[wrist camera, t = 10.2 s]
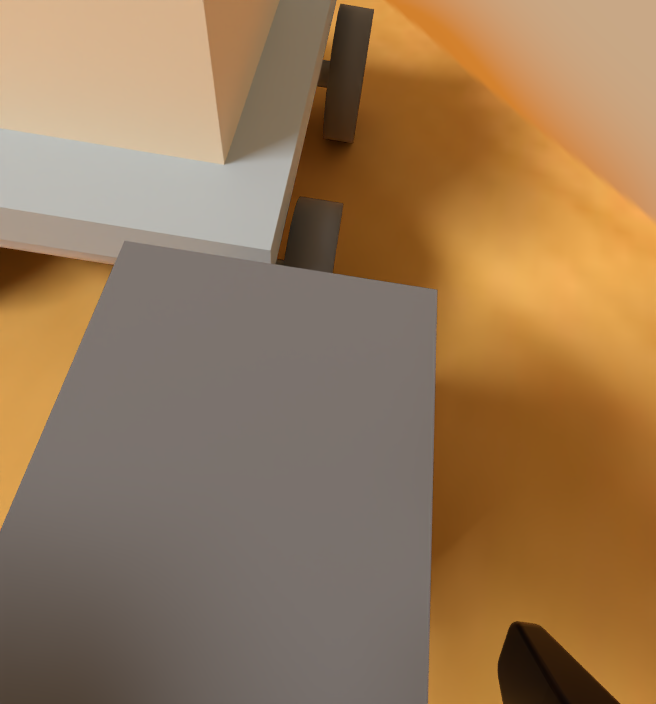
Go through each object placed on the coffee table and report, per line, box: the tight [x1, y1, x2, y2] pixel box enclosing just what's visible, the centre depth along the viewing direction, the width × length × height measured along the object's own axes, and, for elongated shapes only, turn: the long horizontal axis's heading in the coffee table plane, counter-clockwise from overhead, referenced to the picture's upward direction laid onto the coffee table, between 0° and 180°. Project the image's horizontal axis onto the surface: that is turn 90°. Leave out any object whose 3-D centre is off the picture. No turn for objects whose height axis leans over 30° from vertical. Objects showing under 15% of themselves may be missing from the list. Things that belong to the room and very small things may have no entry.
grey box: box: [0, 241, 437, 704], centre depth 12 cm, size 9×5×12 cm, turn 173°
